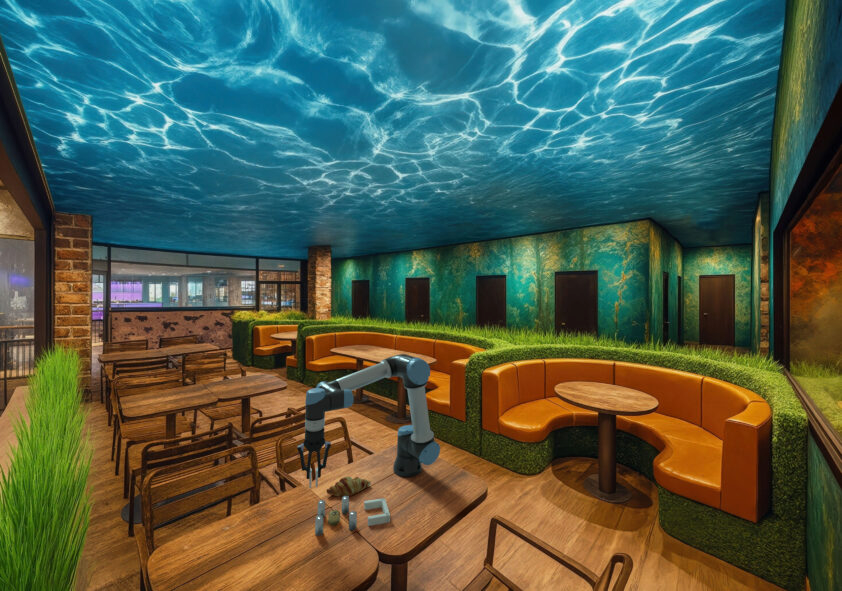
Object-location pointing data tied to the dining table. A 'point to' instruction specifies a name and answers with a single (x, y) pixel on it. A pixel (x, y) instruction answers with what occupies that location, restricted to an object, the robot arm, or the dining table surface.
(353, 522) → the spacers
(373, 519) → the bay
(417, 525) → the dining table surface
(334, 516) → the gold round piece
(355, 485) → the croissant
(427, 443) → the robot arm
